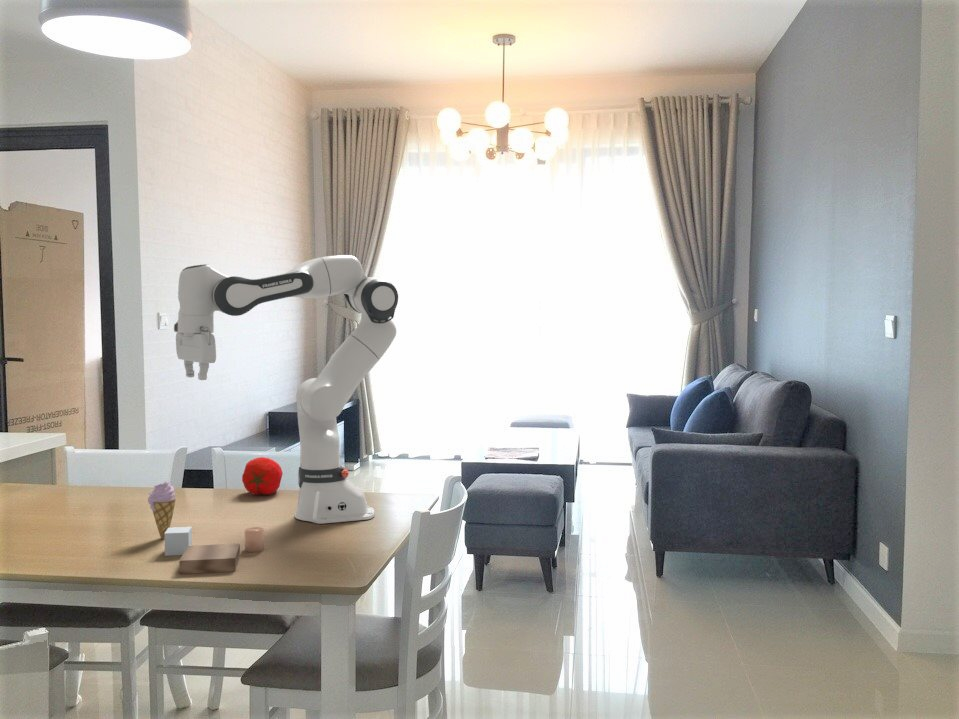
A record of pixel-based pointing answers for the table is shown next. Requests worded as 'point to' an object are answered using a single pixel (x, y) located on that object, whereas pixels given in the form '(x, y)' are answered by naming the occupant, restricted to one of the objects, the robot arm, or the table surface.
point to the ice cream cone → (162, 506)
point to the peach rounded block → (254, 539)
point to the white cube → (177, 540)
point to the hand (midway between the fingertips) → (196, 378)
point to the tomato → (262, 476)
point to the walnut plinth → (210, 558)
